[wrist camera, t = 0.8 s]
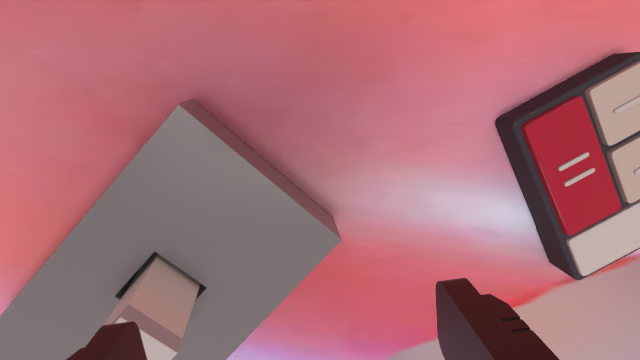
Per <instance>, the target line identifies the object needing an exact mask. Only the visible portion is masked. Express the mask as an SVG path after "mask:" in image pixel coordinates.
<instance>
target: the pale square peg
mask: <svg viewBox="0 0 640 360" xmlns="http://www.w3.org/2000/svg"><path fill="white" fill-rule="evenodd" d="M200 284H201V283H199V282H198V281H196V280H195V279H194V278H192V277H191V276H189V275H188V274H186V273H185V272H184V271H182V270H181V269H179V268H178V267H176V266H175V265H174V264H172V263H171V262H169V261H168V260H166V259H165V258H163V257H162V256H161V255H159V254H158V253H156V252H155V253H154V254H153V255H152V256H151V257H150V258H149V259H148V261H147V262H146V263H145V264H144V265H143V266H142V267H141V269H140V270H139V272H138V273H137V275H136V276H135V278H134V280H133V281H132V283H131V284H130V286H129V287H128V289H127V290H126V292H125V293H124V295H123V297H122V298H121V300H120V301H119V303H118V304H117V306H116V307H115V309H114V310H113V312H112V314H111V315H110V317H109V318H108V320H107V321H106V323H105V324H104V325H108V324H116V323H123V322H131V321H134V322H135V323H136V324H137V325H138V327H139V330H140V334H141V338H142V342H143V346H144V349H145V353H146V357H147V360H172V359H173V357H174V356H175V355H176V354H177V353H178V350H179V347H180V344H181V341H182V338H183V335H184V332H185V329H186V326H187V323H188V320H189V317H190V314H191V311H192V308H193V305H194V302H195V299H196V296H197V293H198V290H199V287H200Z"/></svg>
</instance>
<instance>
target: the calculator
mask: <svg viewBox="0 0 640 360" xmlns="http://www.w3.org/2000/svg"><path fill="white" fill-rule="evenodd" d="M495 125H496V128H497V131H498V133H499V136H500V138H501V141H502V143H503V146H504V148H505V151H506V153H507V156H508V158H509V161H510V163H511V166H512V168H513V171H514V173H515V175H516V178H517V180H518V183H519V185H520V187H521V190H522V192H523V194H524V197H525V199H526V201H527V204H528V206H529V209H530V211H531V213H532V216H533V218H534V220H535V223H536V229H537V232H538V234H539V237H540V239H541V242H542V244H543V247H544V249H545V252H546V255H547V257H548V260H549V262H550V263H552V264H553V265H554V266H556V267H557V268H559V269H560V270H562V271H563V272H565V273H566V274H568V275H569V276H571V277H572V278H574V279H576V280H581V279H583V278H585V277H587V276H589V275H591V274H593V273H595V272H597V271H598V270H600V269H602V268H604V267H606V266H608V265H610V264H612V263H614V262H615V261H617V260H619V259H621V258H623V257H625V256H627V255H629V254H631V253H633V252H634V251H636V250H638V249H640V52H633V53H622V54H613V55H611V56H609V57H607V58H605V59H604V60H602V61H600V62H598V63H596V64H595V65H593V66H591V67H589V68H587V69H585V70H584V71H582V72H580V73H578V74H576V75H575V76H573V77H571V78H569V79H567V80H565V81H564V82H562V83H560V84H558V85H556V86H555V87H553V88H551V89H549V90H547V91H545V92H544V93H542V94H540V95H538V96H536V97H535V98H533V99H531V100H529V101H527V102H525V103H524V104H522V105H520V106H518V107H516V108H514V109H513V110H511V111H509V112H507V113H505V114H504V115H502V116H500V117H498V118H497V119H496V121H495Z"/></svg>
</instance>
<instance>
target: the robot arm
mask: <svg viewBox="0 0 640 360" xmlns="http://www.w3.org/2000/svg"><path fill="white" fill-rule="evenodd" d="M436 308H437V331H438V339H439V344H440V347H441V350H442V353H443V356H444V358H445V360H559V359H558V358H557V357H556V356H555V354H554V353H553V352H552V351H551V350H550V349H549V348H548V347H547V346H546V345H545V344H544V343H543V341H542V340H541V339H540V338H539V337H538V336H537V335H536V334H535V333H534V332H533V331H531V330H530V328H529V326H528V325H527V324H526V323H525V322H524V321H523V320H522V319H521V320H520V317H519V316H518V314H517V313H516V312H515V311H514V310H513V309H512V308H511V307H510V306H509V305H508V304H507V303H505V302H503V301H502V300H500V299H498V298H496V297H494V296H493V295H491V294H486V295H480V294H479V292H478V291H477V290H476V289H475V288H474V286H473V285H472V284H471V283H470V282H469V281H468V280H467V279H466V278H460V279H453V280H445V281H438V282H437V284H436ZM66 360H147V357H146V353H145V349H144V346H143V342H142V338H141V334H140V330H139V327H138V325H137V324H136V323H135V322H134V321H131V322H123V323H116V324H108V325H103V326H102V327H100V329H99V330H98V331H97V332H96V334H95V335H94V336H93V338H92V339H91V340H90V341H89V343H88V344H87V345H86V347H85V348H80V349H79V350H78V351H77V352H75V353H74V354H73V355H71V356H70V357H69V358H67V359H66Z"/></svg>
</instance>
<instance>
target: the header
mask: <svg viewBox="0 0 640 360" xmlns="http://www.w3.org/2000/svg"><path fill="white" fill-rule="evenodd" d="M341 240H342V239H341V237H340V234H339V232H338V229H337V227H336V224H335V222H334V219H333V217H332V216H331V215H330V214H329V213H327V212H326V211H325V210H324V209H323V208H322V207H320V206H319V205H318V204H317V203H316V202H314V201H313V200H312V199H311V198H310V197H308V196H307V195H306V194H305V193H304V192H303V191H301V190H300V189H299V188H298V187H297V186H295V185H294V184H293V183H292V182H291V181H290V180H288V179H287V178H286V177H285V176H284V175H282V174H281V173H280V172H279V171H278V170H276V169H275V168H274V167H273V166H272V165H271V164H269V163H268V162H267V161H266V160H265V159H263V158H262V157H261V156H260V155H259V154H258V153H256V152H255V151H254V150H253V149H252V148H250V147H249V146H248V145H247V144H246V143H244V142H243V141H242V140H241V139H240V138H239V137H237V136H236V135H235V134H234V133H233V132H231V131H230V130H229V129H228V128H227V127H226V126H224V125H223V124H222V123H221V122H220V121H218V120H217V119H216V118H215V117H214V116H212V115H211V114H210V113H209V112H208V111H207V110H205V109H204V108H203V107H202V106H201V105H199V104H198V103H197V102H196V101H195V100H194V99H190V100H188V101H186V102H183V103H181V104H179V105H178V106H177V107H176V108H175V109H174V110H173V112H172V113H171V114H170V115H169V116H168V118H167V119H166V120H165V121H164V122H163V124H162V125H161V126H160V127H159V128H158V129H157V131H156V132H155V133H154V134H153V135H152V137H151V138H150V139H149V140H148V141H147V143H146V144H145V145H144V146H143V147H142V148H141V150H140V151H139V152H138V153H137V154H136V156H135V157H134V158H133V159H132V160H131V162H130V163H129V164H128V165H127V166H126V167H125V169H124V170H123V171H122V172H121V173H120V175H119V176H118V177H117V178H116V179H115V181H114V182H113V183H112V184H111V185H110V186H109V188H108V189H107V190H106V191H105V192H104V194H103V195H102V196H101V197H100V198H99V200H98V201H97V202H96V203H95V204H94V205H93V207H92V208H91V209H90V210H89V211H88V213H87V214H86V215H85V216H84V217H83V219H82V220H81V221H80V222H79V223H78V224H77V226H76V227H75V228H74V229H73V230H72V232H71V233H70V234H69V235H68V236H67V238H66V239H65V240H64V241H63V242H62V243H61V245H60V246H59V247H58V248H57V249H56V251H55V252H54V253H53V254H52V255H51V257H50V258H49V259H48V260H47V261H46V262H45V264H44V265H43V266H42V267H41V268H40V270H39V271H38V272H37V273H36V274H35V276H34V277H33V278H32V279H31V280H30V281H29V283H28V284H27V285H26V286H25V287H24V289H23V290H22V291H21V292H20V293H19V295H18V296H17V297H16V298H15V299H14V300H13V302H12V303H11V304H10V305H9V306H8V308H7V309H6V310H5V311H4V312H3V314H2V315H1V316H0V360H66V359H67V358H69V357H70V356H71V355H73V354H74V353H75V352H77V351H78V350H79V349H80V348H85V347H86V345H87V344H88V343H89V341H90V340H91V339H92V338H93V336H94V335H95V334H96V332H97V331H98V330H99V329H100V327H102V326H103V325H104V324H105V323H106V321H107V320H108V318H109V317H110V315H111V314H112V312H113V310H114V309H115V307H116V306H117V304H118V303H119V301H120V300H121V298H122V297H123V295H124V293H125V292H126V290H127V289H128V287H129V286H130V284H131V283H132V281H133V280H134V278H135V276H136V275H137V273H138V272H139V270H140V269H141V267H142V266H143V265H144V264H145V263H146V262H147V261H148V259H149V258H150V257H151V256H152V255H153V254H154V253H155V252H156V253H158V254H159V255H161V256H162V257H163V258H165V259H166V260H168V261H169V262H171V263H172V264H174V265H175V266H176V267H178V268H179V269H181V270H182V271H184V272H185V273H186V274H188V275H189V276H191V277H192V278H194V279H195V280H196V281H198V282H199V283H201V284H200V287H199V290H198V293H197V296H196V299H195V302H194V305H193V308H192V311H191V314H190V317H189V320H188V323H187V326H186V329H185V332H184V335H183V338H182V341H181V344H180V347H179V350H178V353H177V354H176V355H175V356H174V357H173V359H172V360H226V359H227V358H228V357H229V356H230V355H231V354H232V353H233V352H234V351H235V350H236V349H237V348H238V347H239V345H240V344H241V343H242V342H243V341H244V340H245V339H246V338H247V337H248V336H249V335H250V334H251V333H252V332H253V331H254V330H255V329H256V328H257V327H258V326H259V325H260V324H261V323H262V322H263V321H264V320H265V319H266V318H267V317H268V315H269V314H270V313H271V312H272V311H273V310H274V309H275V308H276V307H277V306H278V305H279V304H280V303H281V302H282V301H283V300H284V299H285V298H286V297H287V296H288V295H289V294H290V293H291V292H292V291H293V290H294V289H295V288H296V287H297V285H298V284H299V283H300V282H301V281H302V280H303V279H304V278H305V277H306V276H307V275H308V274H309V273H310V272H311V271H312V270H313V269H314V268H315V267H316V266H317V265H318V264H319V263H320V262H321V261H322V260H323V259H324V258H325V256H326V255H327V254H328V253H329V252H330V251H331V250H332V249H333V248H334V247H335V246H336V245H337V244H338V243H339V242H340V241H341Z"/></svg>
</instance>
